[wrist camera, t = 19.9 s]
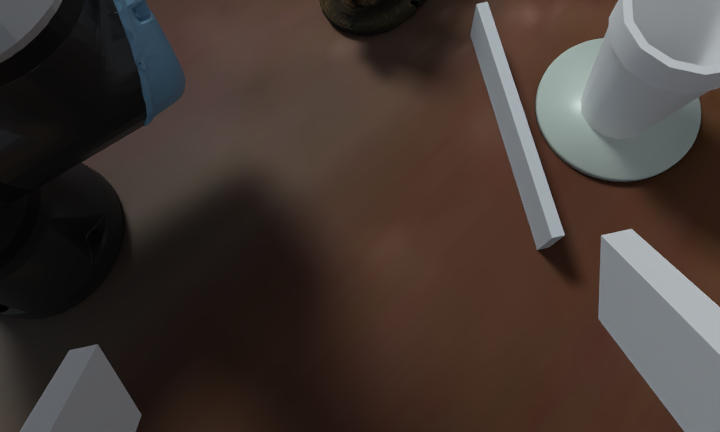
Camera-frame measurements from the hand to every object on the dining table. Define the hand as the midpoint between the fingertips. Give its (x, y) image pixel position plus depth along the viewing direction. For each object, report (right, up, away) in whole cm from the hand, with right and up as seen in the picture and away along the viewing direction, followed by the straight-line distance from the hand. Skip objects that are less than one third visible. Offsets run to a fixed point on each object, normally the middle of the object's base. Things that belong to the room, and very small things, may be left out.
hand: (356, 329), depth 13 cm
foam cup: (+23, +13, +32) cm, 41 cm away
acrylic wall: (+14, +11, +33) cm, 37 cm away
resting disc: (+23, +13, +32) cm, 42 cm away
